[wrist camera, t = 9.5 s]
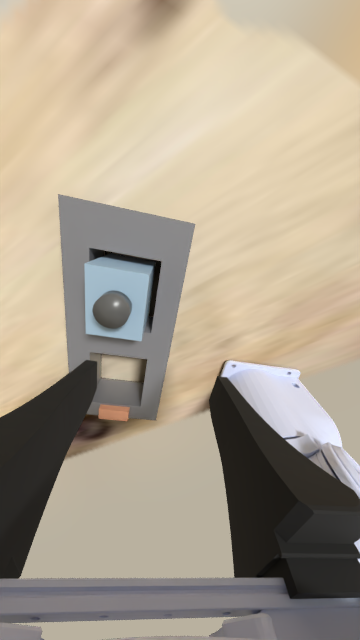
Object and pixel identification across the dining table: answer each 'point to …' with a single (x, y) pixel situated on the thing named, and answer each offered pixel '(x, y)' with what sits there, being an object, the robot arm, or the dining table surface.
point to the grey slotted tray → (173, 250)
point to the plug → (118, 296)
